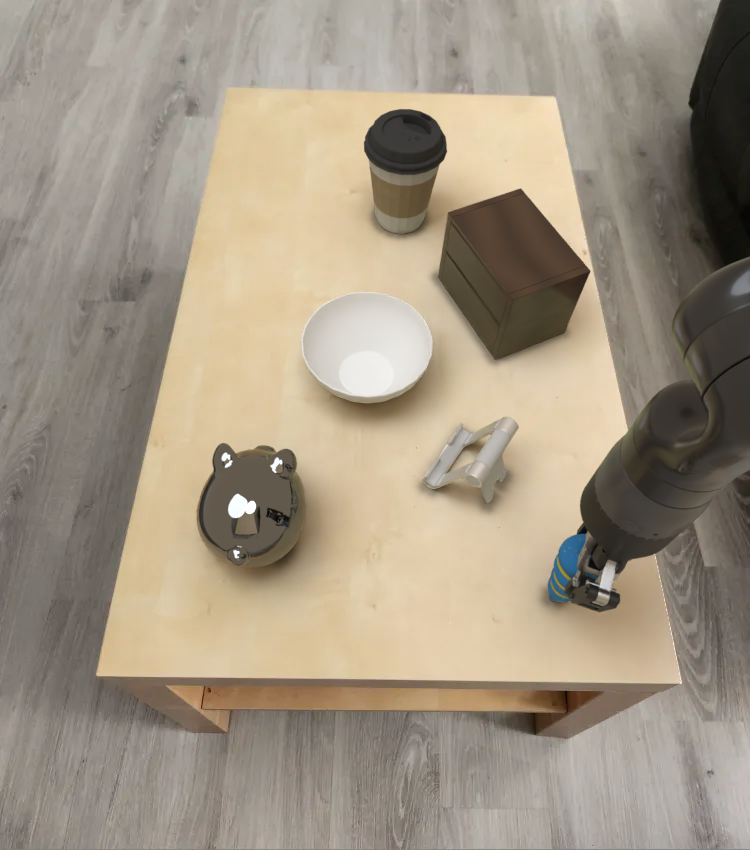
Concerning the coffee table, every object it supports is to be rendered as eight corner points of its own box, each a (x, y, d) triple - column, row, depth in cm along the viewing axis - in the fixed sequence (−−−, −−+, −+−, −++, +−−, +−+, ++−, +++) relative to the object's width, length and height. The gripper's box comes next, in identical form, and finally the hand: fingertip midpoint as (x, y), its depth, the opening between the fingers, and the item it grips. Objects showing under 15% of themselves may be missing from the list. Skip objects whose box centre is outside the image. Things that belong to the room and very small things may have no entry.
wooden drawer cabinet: (503, 254, 100) (521, 188, 90) (564, 332, 93) (591, 270, 82) (437, 277, 97) (447, 211, 87) (495, 360, 90) (513, 299, 80)
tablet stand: (457, 431, 84) (467, 394, 77) (514, 462, 82) (529, 428, 75) (421, 483, 81) (428, 449, 73) (479, 518, 79) (492, 487, 71)
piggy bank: (317, 473, 81) (312, 424, 71) (298, 597, 73) (290, 562, 63) (224, 464, 81) (206, 414, 71) (196, 587, 74) (171, 550, 64)
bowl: (367, 451, 83) (368, 421, 77) (278, 374, 88) (273, 341, 82) (453, 374, 89) (460, 341, 83) (365, 307, 94) (366, 271, 88)
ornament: (520, 596, 74) (555, 547, 61) (549, 564, 76) (589, 510, 63) (558, 630, 72) (602, 588, 59) (587, 597, 74) (636, 549, 61)
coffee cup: (452, 217, 103) (467, 130, 91) (402, 256, 99) (409, 171, 86) (397, 181, 107) (403, 92, 94) (346, 217, 103) (345, 129, 90)
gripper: (687, 597, 47) (607, 651, 61) (707, 426, 54) (631, 512, 68) (579, 561, 48) (526, 623, 62) (612, 398, 55) (557, 489, 69)
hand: (581, 565), depth 65 cm, fingers closed on ornament, 5 cm apart
